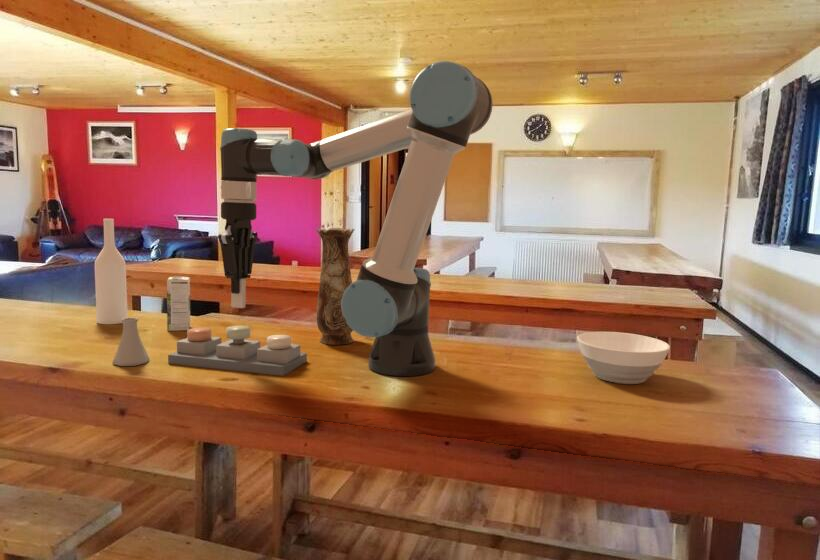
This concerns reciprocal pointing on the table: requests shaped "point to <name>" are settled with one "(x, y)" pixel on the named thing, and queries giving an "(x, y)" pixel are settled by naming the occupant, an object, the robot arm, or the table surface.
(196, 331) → the button terracotta
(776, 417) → the table surface
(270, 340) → the button cream
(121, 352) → the flask
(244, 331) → the button sage
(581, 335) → the bowl
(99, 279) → the bottle
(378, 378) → the table surface
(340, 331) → the vase
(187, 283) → the syrup box
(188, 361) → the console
